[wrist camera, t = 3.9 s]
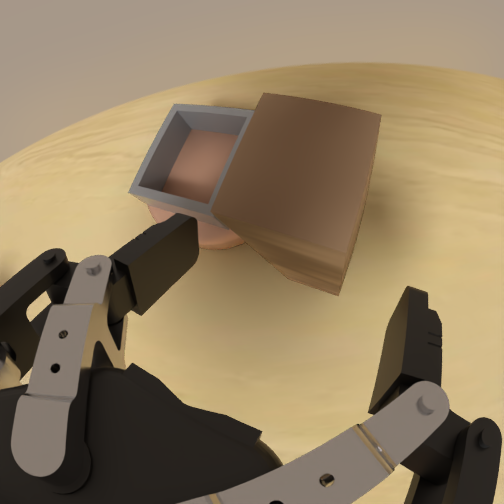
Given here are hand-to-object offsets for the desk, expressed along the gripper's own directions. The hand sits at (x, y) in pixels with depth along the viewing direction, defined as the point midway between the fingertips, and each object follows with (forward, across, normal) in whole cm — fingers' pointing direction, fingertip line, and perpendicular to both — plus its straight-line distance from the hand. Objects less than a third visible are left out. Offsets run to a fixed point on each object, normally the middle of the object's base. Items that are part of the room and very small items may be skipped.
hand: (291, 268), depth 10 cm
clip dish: (+10, +9, +3) cm, 14 cm away
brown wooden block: (+8, 0, +5) cm, 10 cm away
